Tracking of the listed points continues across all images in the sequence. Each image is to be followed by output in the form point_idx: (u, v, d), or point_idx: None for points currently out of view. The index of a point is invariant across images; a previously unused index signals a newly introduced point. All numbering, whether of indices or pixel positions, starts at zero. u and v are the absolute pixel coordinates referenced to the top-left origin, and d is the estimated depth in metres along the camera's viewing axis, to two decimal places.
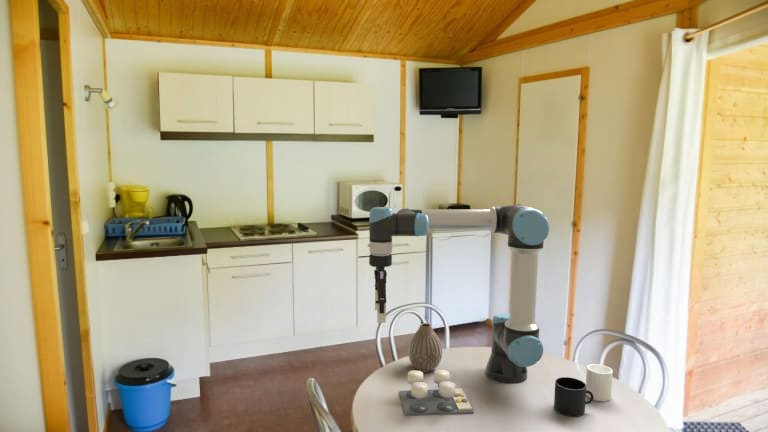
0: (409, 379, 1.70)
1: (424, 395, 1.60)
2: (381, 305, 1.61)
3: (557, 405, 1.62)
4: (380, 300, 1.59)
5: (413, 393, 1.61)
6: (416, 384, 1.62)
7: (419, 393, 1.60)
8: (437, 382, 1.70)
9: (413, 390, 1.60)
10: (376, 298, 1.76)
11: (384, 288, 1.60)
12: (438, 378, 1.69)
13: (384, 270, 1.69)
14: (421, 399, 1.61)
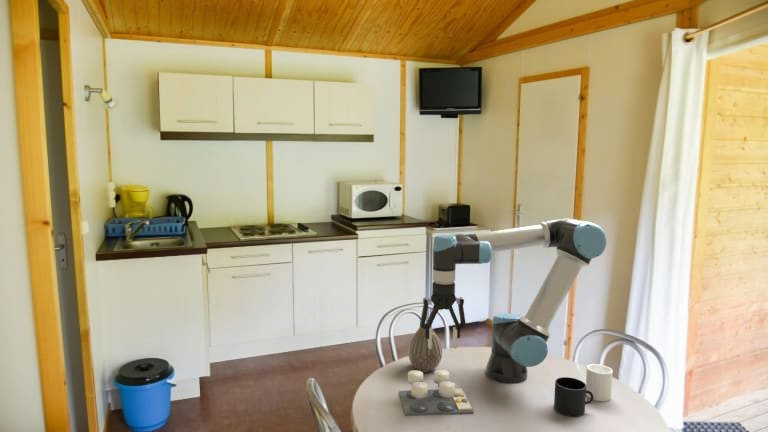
0: (409, 379, 1.70)
1: (424, 395, 1.60)
2: (425, 330, 1.69)
3: (557, 405, 1.62)
4: (420, 324, 1.70)
5: (413, 393, 1.61)
6: (416, 384, 1.62)
7: (419, 393, 1.60)
8: (437, 382, 1.70)
9: (413, 390, 1.60)
10: (453, 334, 1.71)
11: (422, 314, 1.68)
12: (438, 378, 1.69)
13: (447, 299, 1.67)
14: (421, 399, 1.61)
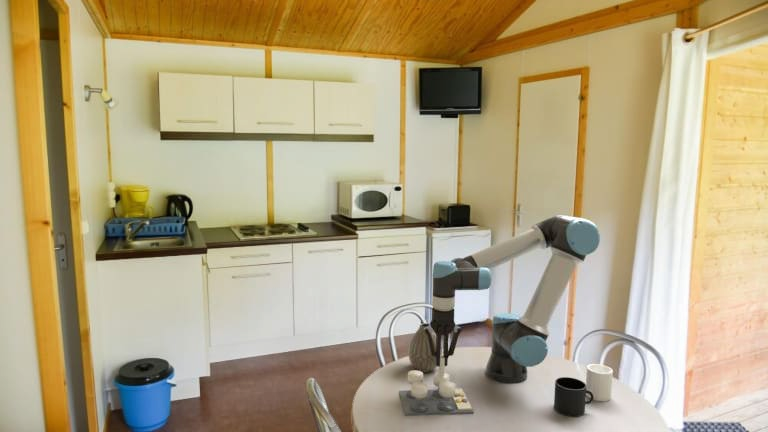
0: (409, 379, 1.70)
1: (424, 395, 1.60)
2: (436, 357, 1.71)
3: (557, 405, 1.62)
4: None
5: (413, 393, 1.61)
6: (416, 384, 1.62)
7: (419, 393, 1.60)
8: (437, 385, 1.70)
9: (413, 390, 1.60)
10: None
11: (429, 343, 1.69)
12: (438, 380, 1.70)
13: (447, 325, 1.68)
14: (421, 399, 1.61)
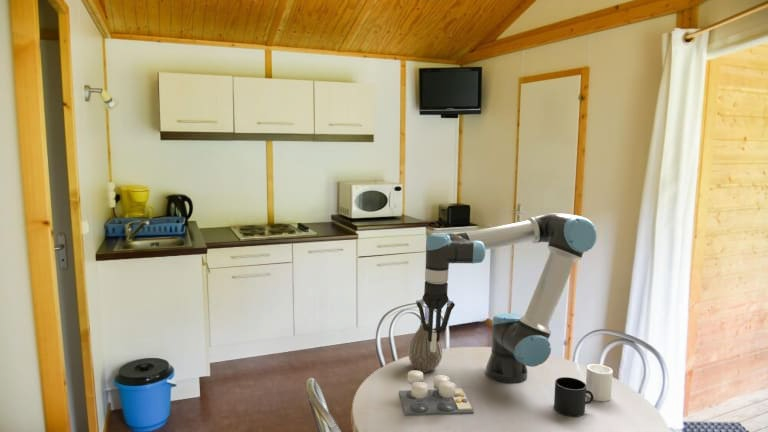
0: (409, 379, 1.70)
1: (424, 395, 1.60)
2: (428, 332, 1.67)
3: (557, 405, 1.62)
4: None
5: (413, 393, 1.61)
6: (416, 384, 1.62)
7: (419, 393, 1.60)
8: (437, 388, 1.70)
9: (413, 390, 1.60)
10: None
11: (421, 317, 1.65)
12: (438, 383, 1.70)
13: (440, 299, 1.64)
14: (421, 399, 1.61)
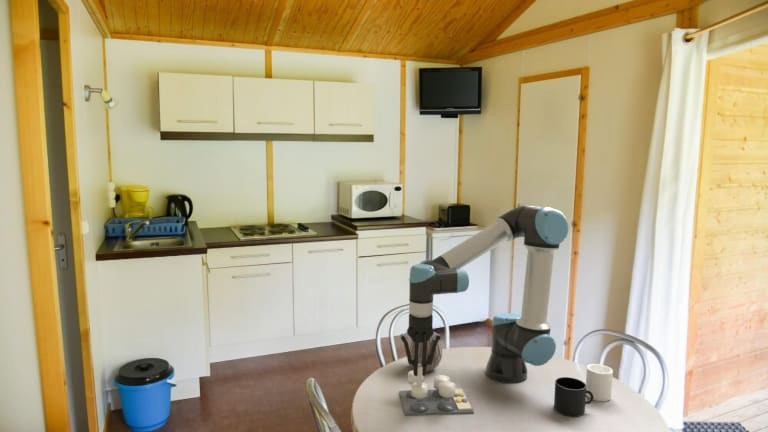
0: (409, 379, 1.70)
1: (424, 395, 1.60)
2: (413, 366, 1.61)
3: (557, 405, 1.62)
4: None
5: (413, 393, 1.61)
6: (416, 385, 1.62)
7: (419, 393, 1.60)
8: (437, 388, 1.70)
9: (413, 390, 1.60)
10: None
11: None
12: (438, 383, 1.70)
13: (425, 332, 1.59)
14: (421, 399, 1.61)
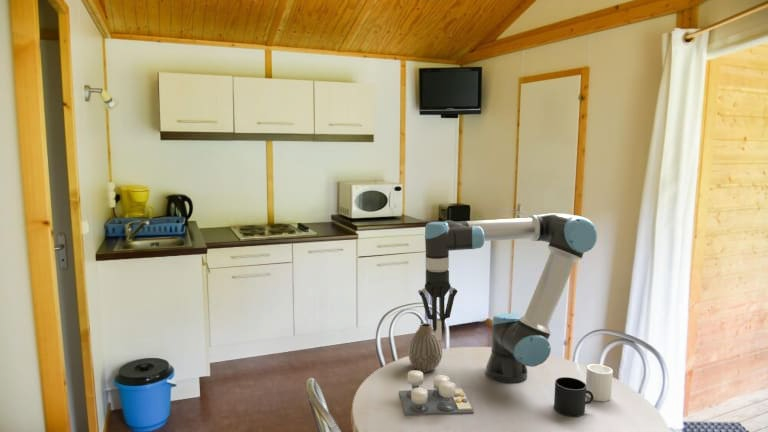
0: (409, 379, 1.70)
1: (424, 401, 1.60)
2: (432, 321, 1.67)
3: (557, 405, 1.62)
4: None
5: (413, 399, 1.61)
6: (416, 390, 1.62)
7: (419, 399, 1.60)
8: (437, 388, 1.70)
9: (413, 396, 1.61)
10: None
11: (424, 306, 1.65)
12: (438, 383, 1.70)
13: (442, 287, 1.64)
14: (421, 405, 1.62)
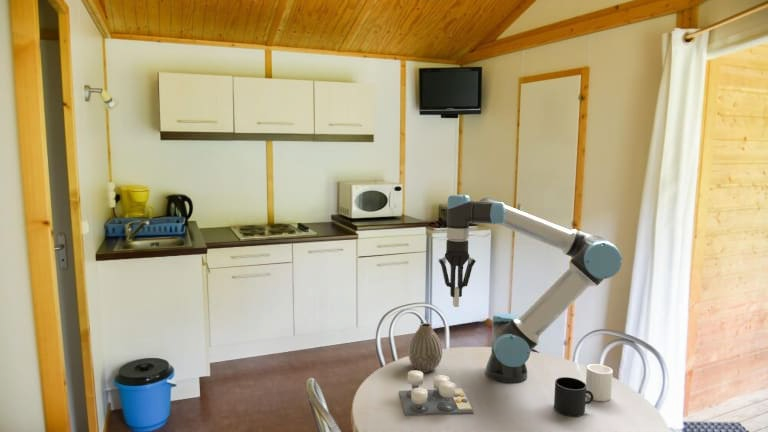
0: (409, 379, 1.70)
1: (424, 401, 1.60)
2: (450, 288, 1.76)
3: (557, 405, 1.62)
4: (445, 283, 1.76)
5: (413, 399, 1.61)
6: (416, 390, 1.62)
7: (419, 399, 1.60)
8: (437, 388, 1.70)
9: (413, 396, 1.61)
10: None
11: (444, 274, 1.75)
12: (438, 383, 1.70)
13: (461, 256, 1.74)
14: (421, 405, 1.62)
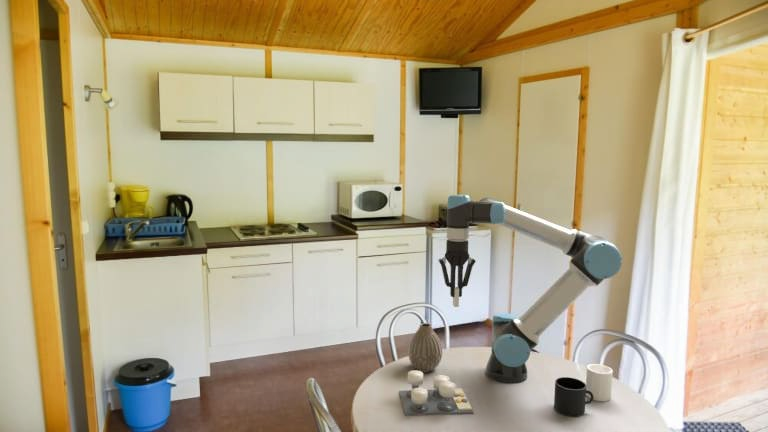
0: (409, 379, 1.70)
1: (424, 401, 1.60)
2: (450, 288, 1.76)
3: (557, 405, 1.62)
4: (445, 283, 1.76)
5: (413, 399, 1.61)
6: (416, 390, 1.62)
7: (419, 399, 1.60)
8: (437, 388, 1.70)
9: (413, 396, 1.61)
10: None
11: (444, 274, 1.75)
12: (438, 383, 1.70)
13: (461, 256, 1.74)
14: (421, 405, 1.62)
